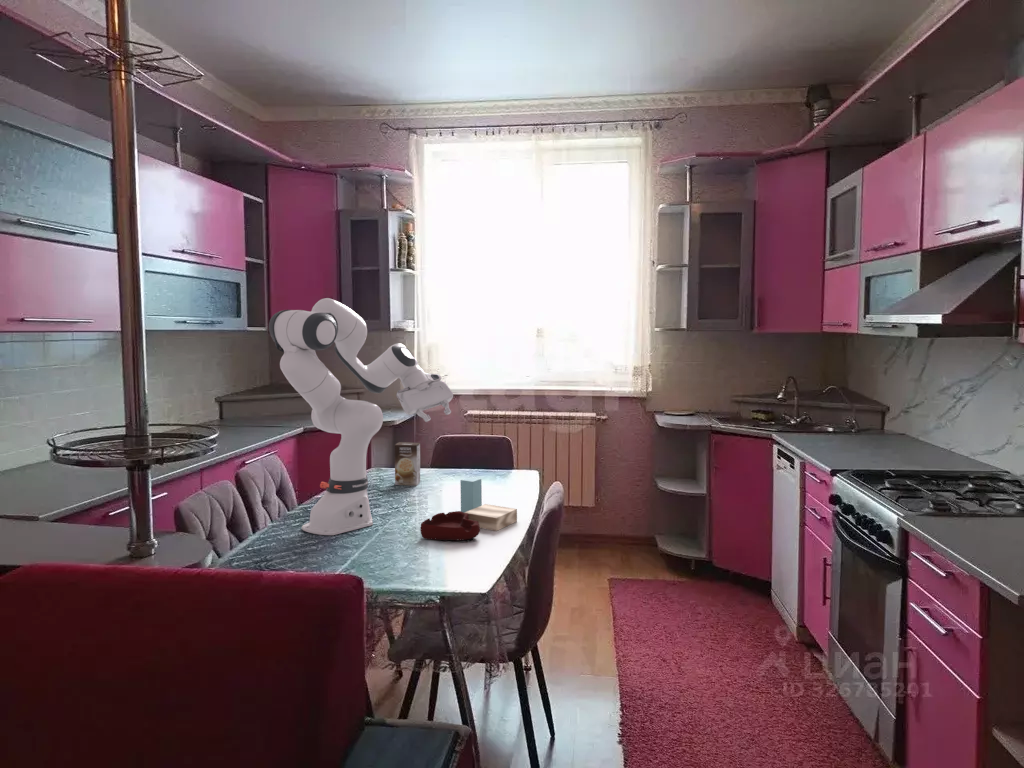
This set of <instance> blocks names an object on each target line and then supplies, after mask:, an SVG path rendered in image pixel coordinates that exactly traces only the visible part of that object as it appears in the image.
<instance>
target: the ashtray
mask: <svg viewBox="0 0 1024 768" xmlns="http://www.w3.org/2000/svg"><path fill="white" fill-rule="evenodd" d="M419 530H420V535H421V537H423V539H426V540H438V541H441V540H443V541H448V540H449V541H465V542H473V541H474V538H476V537H478V536H479V534H480V531H481V528H480V525H479V522H478V521H474V520H469V514H468V513H464V512H461V510H458V511H457V510H455V511H449V512H447V513H445V512H438V513H436V514H434V515H433V516H431V519H430V518H427V519H424V521H422V522H421V523H420V529H419Z"/></svg>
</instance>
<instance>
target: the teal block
mask: <svg viewBox="0 0 1024 768" xmlns="http://www.w3.org/2000/svg"><path fill="white" fill-rule="evenodd" d="M482 495H483V493H482V478H478V477H471V476H469V477H465V478H462V479H460V511H461V512H467V511H469V510H472V509H474V508H477V507H479V506H482V505H483V503H482V498H483V497H482Z"/></svg>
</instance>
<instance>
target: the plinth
mask: <svg viewBox="0 0 1024 768" xmlns="http://www.w3.org/2000/svg"><path fill="white" fill-rule="evenodd" d="M464 513H468V514H469V520H474V521H478V522H479V525H480V529H483V530H488V531H494V532H497V531H500V530H502V529H504V528H506V527H508V526H510V525H513V524H515V523H516V522H517V521H518V509H517V508H513V507H506V506H501V505H496V504H494V505H493V504H489V503H485V504H482V506H479V507H477V508H474V509H472V510H469V511H467V512H464Z"/></svg>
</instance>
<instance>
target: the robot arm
mask: <svg viewBox="0 0 1024 768" xmlns="http://www.w3.org/2000/svg"><path fill="white" fill-rule="evenodd" d="M367 327H368V326H367V323H366V321H365V319H364V318H363V317H362V316H360V315H359V314H358V313H356V312H355V311H354V310H353V309H352V308H350V307H349V306H347V305H346V304H343V303H342V302H340V301H338V300H335V299H332V298H329V297H326V298H321V299H319V300H318V301H317V302H316V303H315V304H314V305H313V306H312V308H311V311H309V310H303V309H283V310H280V311H277V312H276V313H274V314H273V315H272V316H271V317H270V319H269V323H268V332H269V334H270V338H271V339H272V341H273V342H274V344H275V348H276V349H277V350H278V351H280V352H282V353H283V355H282V356H281V357H280V361H279V368H280V370H281V372H282V373H283V376H284V377H285V378H286V381H288V383H289V384H290V385H291V386H292V387H293V389H294V390H295V391H296V392H297V393H298V395H300V396H301V397H302V398H303V399H304V400H305V401H306V403H308V405H309V406H310V408H311V415H310V416H311V417H310V418H311V421H312V424H313V426H314V427H315V428H317V429H319V430H321V431H323V432H326V433H328V434H329V433H330V434H340V435H341V436H340V437H341V438H340V442H339V444H338V446H337V447H336V448H334V449H333V450H332V451H331V453H330V456H329V468H330V469H329V471H330V472H329V473H330V476H329V479H328V482H325V481H321V482H320V484H319V487H320V489H325V490H326V492H324V494H323V495H322V497H320V499H319V500H318V501H317V502H316V503H315V504H314V505H313V506H312V508H311V509H310V515H309V521H308V522H307V523H304V524H303V525H302V526H301V530H302V531H304V532H307V533H310V534H314V535H321V536H334V535H335V536H337V535H339V534H342V533H346V532H347V533H348V532H351V531H355V530H358V529H363V528H366V527H370V526H373V525H374V522H373V517H372V512H371V508H370V500H369V495H368V488H369V481H368V480H369V479H368V475H367V455H368V454H367V453H368V447H369V444H370V442H371V440H372V438H373V437H374V436H375V435H376V434H377V433H378V432H379V431H380V429H381V428H382V425H383V422H384V415H383V411H382V408H381V407H380V406H379V405H377V404H375V403H373V402H370V401H367V400H360V399H348V398H345V397H343V396H342V395H341V390H342V385H341V382H340V380H339V379H338V378H337V377H336V376H335V375H334V374H333V373H332V371H331V370H330V369H329V368H328V367H327V366H326V365H325V363H324V362H322V361H321V360H320V359H319V357H318V355H317V353H316V351H323V350H326V349H329V348H330V347H331V346H332V345H333V344H334V343H335V345H334V347H333V348H334V352H335V354H336V356H337V357H338V359H339V360H340V361H341V362H342V364H343V365H344V366H345V367H346V368H347V369H348V370H349V371H350V372H351V373H352V374H353V375H354V376H355V377H356V378H357V379H358V380H359V381H360V383H362V385H363V386H364V388H365V390H367V391H368V392H370V393H372V394H382V393H383V392H384V391H385V390H387V389H388V387H389V386H390V385H391V384H393V383H394V382H395V381H396V380H398V379H399V380H400V382H401V385H402V387H403V388H402V389H399V390H397V392H396V397H397V399H398V401H399V403H400V405H401V407H402V410H403V412H404V414H406V415H408V416H410V415H414V414H417V416H418V417H420V418H421V419H423V421H424V422H425V423H428V422H430V421H431V419H432V418H431V416H430V414H429V413H428V414H426V413H425V412H424V411H426V410H429V409H432V408H435V407H439V406H442V407H443V408H444V410H443V413H444V414H445V416H446V415H450V414H451V413H452V410H451V409H450V404H449V403H450V402H451V401H452V400H453V398H454V392H453V391H452V390H451V388H450V387H449V386H448V383H446V382H445V381H443V380H442V377H441V375H440V374H437V373H428V372H425V370H424V369H423V368H421V367H420V365H419V362H418V360H417V359H416V357H415V356H414V354H413V353H412V352H411V351H410V350H409V348H407V347H406V345H404V344H403V343H401V342H400V343H394V344H392V345H390V346H389V347H388V348H387V349H386V350H385V351H384V352H383V353H381V354H380V355H379V356H378V357H377V358H376V359H374V360H373V361H371V363H369V364H367V365H366V364H365V365H364V363H363V362H362V361H361V360H360V359H359V358H358V357H357V356H358V353H359V351H361V349H362V347H363V346H364V344H365V343H366V339H367V336H368V328H367Z"/></svg>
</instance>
